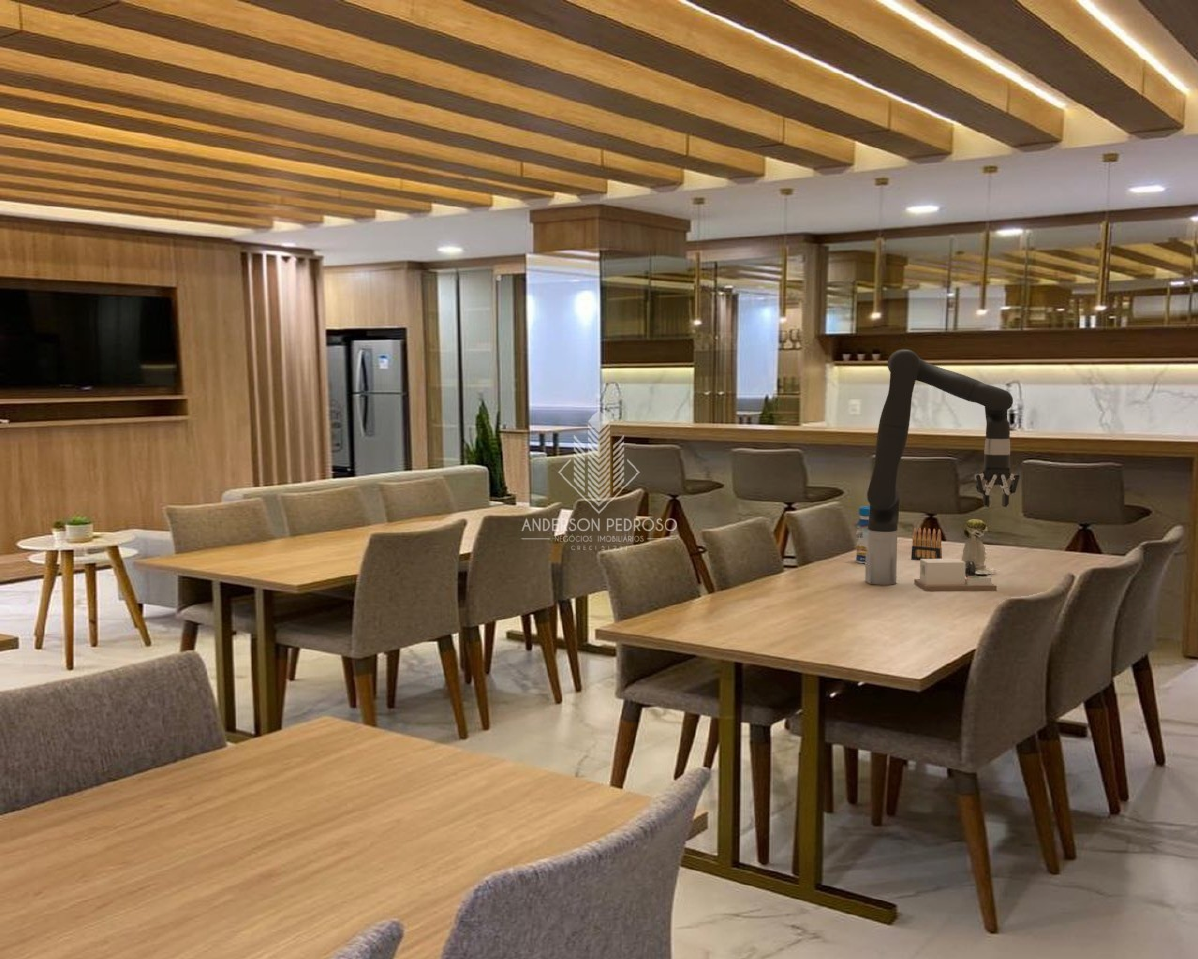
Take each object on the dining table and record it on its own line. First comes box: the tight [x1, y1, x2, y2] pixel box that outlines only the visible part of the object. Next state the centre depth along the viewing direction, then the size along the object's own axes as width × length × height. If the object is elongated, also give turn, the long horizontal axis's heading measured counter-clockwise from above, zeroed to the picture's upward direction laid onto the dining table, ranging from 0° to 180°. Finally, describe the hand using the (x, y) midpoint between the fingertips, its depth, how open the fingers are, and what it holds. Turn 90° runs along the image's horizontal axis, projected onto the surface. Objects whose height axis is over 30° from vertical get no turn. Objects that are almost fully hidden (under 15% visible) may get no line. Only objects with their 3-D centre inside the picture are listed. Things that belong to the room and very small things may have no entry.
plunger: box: [965, 561, 978, 579], centre depth 330 cm, size 14×8×6 cm, turn 90°
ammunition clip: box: [910, 526, 943, 561], centre depth 380 cm, size 11×2×12 cm, turn 55°
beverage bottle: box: [855, 505, 870, 564], centre depth 377 cm, size 8×8×20 cm
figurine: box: [961, 518, 997, 577], centre depth 355 cm, size 12×13×18 cm
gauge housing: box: [913, 558, 998, 592], centre depth 332 cm, size 22×12×8 cm, turn 90°
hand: (995, 506), depth 331 cm, fingers open, 5 cm apart
